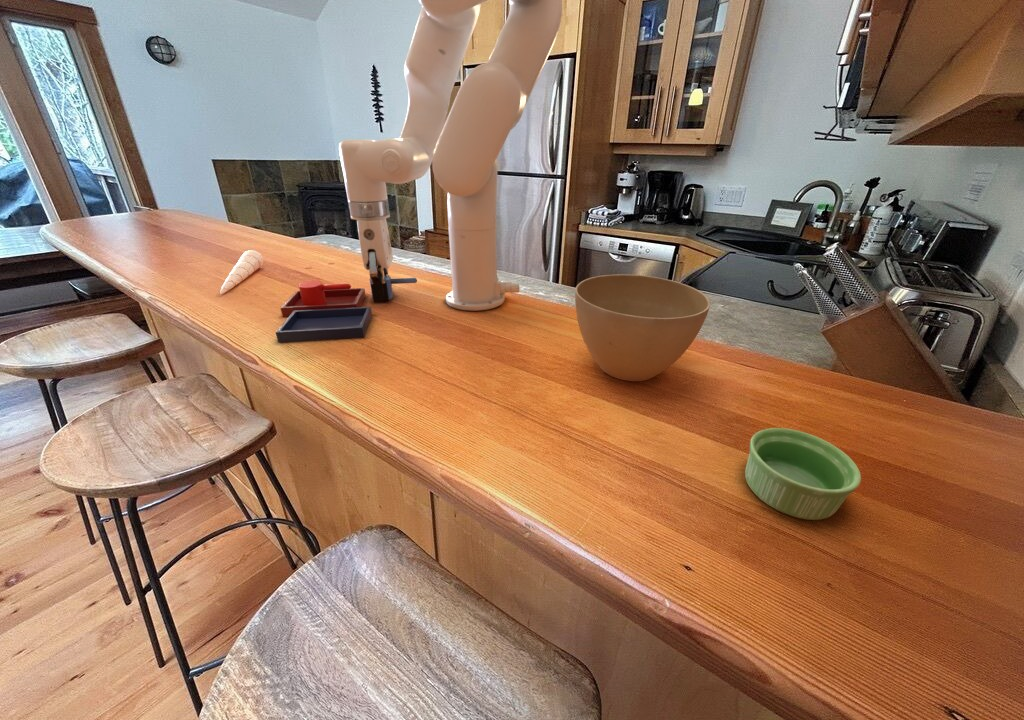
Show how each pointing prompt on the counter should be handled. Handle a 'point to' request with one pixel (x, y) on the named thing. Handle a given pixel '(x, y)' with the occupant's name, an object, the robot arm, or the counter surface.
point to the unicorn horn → (243, 269)
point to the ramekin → (799, 473)
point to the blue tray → (325, 324)
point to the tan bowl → (638, 322)
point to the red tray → (333, 299)
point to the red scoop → (317, 292)
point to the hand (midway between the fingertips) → (382, 296)
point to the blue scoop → (395, 281)
